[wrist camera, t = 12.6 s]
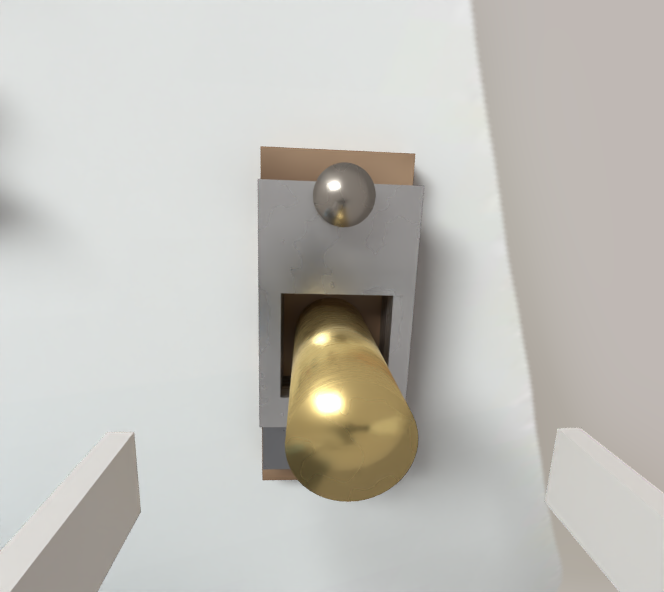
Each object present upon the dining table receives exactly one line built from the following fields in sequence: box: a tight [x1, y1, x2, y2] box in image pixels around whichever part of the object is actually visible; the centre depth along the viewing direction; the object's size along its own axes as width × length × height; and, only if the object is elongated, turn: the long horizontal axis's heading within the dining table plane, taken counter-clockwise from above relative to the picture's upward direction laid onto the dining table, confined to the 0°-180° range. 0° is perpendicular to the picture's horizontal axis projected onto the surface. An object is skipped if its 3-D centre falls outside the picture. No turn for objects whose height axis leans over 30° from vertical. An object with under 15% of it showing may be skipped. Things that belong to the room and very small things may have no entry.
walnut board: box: [261, 146, 415, 480], centre depth 25 cm, size 22×9×2 cm, turn 178°
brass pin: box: [285, 298, 418, 502], centre depth 19 cm, size 4×4×12 cm
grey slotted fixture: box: [258, 162, 424, 470], centre depth 22 cm, size 20×9×5 cm, turn 178°
